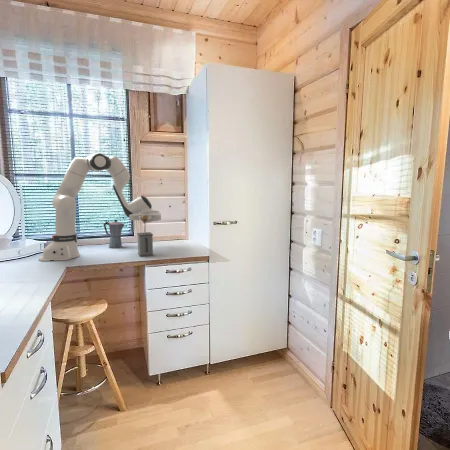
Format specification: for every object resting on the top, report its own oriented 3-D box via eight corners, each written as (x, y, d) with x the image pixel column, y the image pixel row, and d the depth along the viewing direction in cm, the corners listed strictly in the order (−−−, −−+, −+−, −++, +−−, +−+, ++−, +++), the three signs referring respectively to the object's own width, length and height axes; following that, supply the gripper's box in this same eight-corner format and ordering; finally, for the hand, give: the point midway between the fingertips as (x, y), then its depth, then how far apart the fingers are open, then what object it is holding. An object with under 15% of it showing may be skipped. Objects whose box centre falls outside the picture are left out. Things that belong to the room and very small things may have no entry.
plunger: (141, 246, 198) (140, 216, 195) (139, 244, 203) (139, 215, 200) (150, 245, 200) (149, 215, 197) (148, 244, 205) (148, 214, 202)
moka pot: (123, 248, 219) (122, 220, 216) (101, 248, 220) (100, 220, 217) (127, 245, 229) (126, 218, 226) (106, 245, 229) (105, 218, 226)
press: (140, 257, 195) (139, 235, 193) (137, 253, 204) (137, 233, 202) (154, 256, 198) (153, 234, 196) (150, 252, 208) (150, 232, 206)
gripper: (130, 211, 210) (127, 213, 196) (161, 211, 212) (160, 213, 199) (131, 220, 211) (127, 223, 197) (161, 220, 213) (160, 223, 200)
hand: (144, 218), depth 198 cm, fingers closed on plunger, 3 cm apart
